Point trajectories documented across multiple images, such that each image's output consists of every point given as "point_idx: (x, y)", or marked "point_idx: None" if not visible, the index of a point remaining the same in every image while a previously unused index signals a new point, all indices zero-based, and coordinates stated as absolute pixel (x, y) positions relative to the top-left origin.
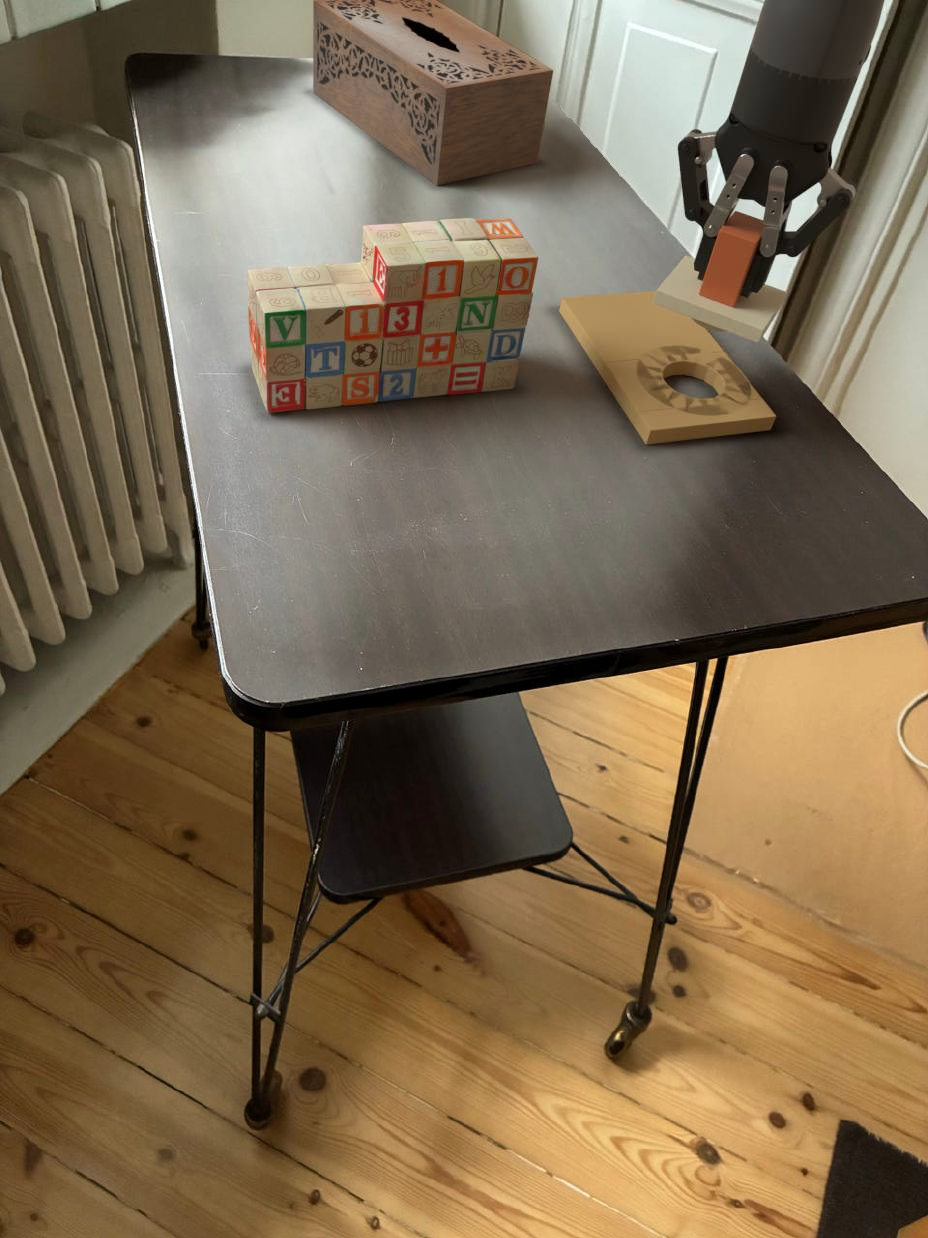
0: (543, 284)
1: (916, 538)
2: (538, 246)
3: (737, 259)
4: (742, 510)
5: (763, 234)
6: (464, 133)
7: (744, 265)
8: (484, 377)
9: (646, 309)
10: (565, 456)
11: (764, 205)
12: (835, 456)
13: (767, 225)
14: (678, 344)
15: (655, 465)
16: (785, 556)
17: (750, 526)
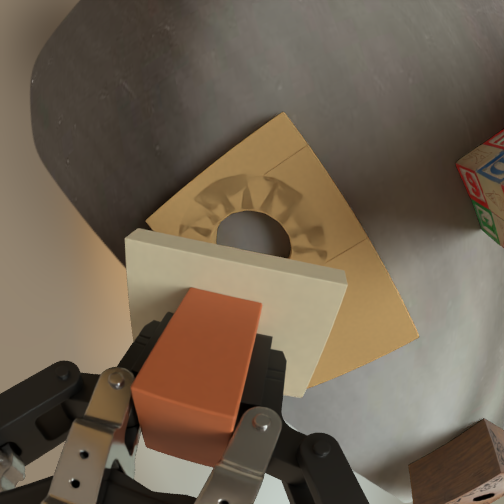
0: (426, 358)
1: (32, 129)
2: (423, 400)
3: (181, 356)
4: (155, 60)
5: (122, 409)
6: (475, 456)
7: (163, 345)
8: (491, 146)
9: (326, 355)
10: (372, 53)
11: (120, 475)
12: (94, 203)
13: (103, 425)
14: None
15: (263, 79)
16: (112, 27)
17: (145, 42)
